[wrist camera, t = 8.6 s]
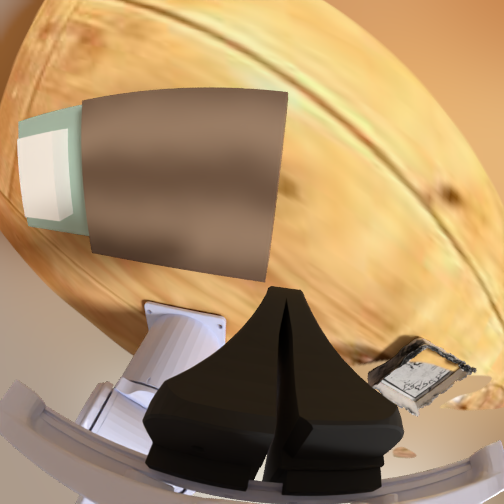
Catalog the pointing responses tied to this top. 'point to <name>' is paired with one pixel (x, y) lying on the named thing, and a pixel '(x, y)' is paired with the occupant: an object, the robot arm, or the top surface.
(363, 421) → the robot arm
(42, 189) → the plate
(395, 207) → the top surface
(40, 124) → the sage mat
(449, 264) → the top surface
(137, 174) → the plate
